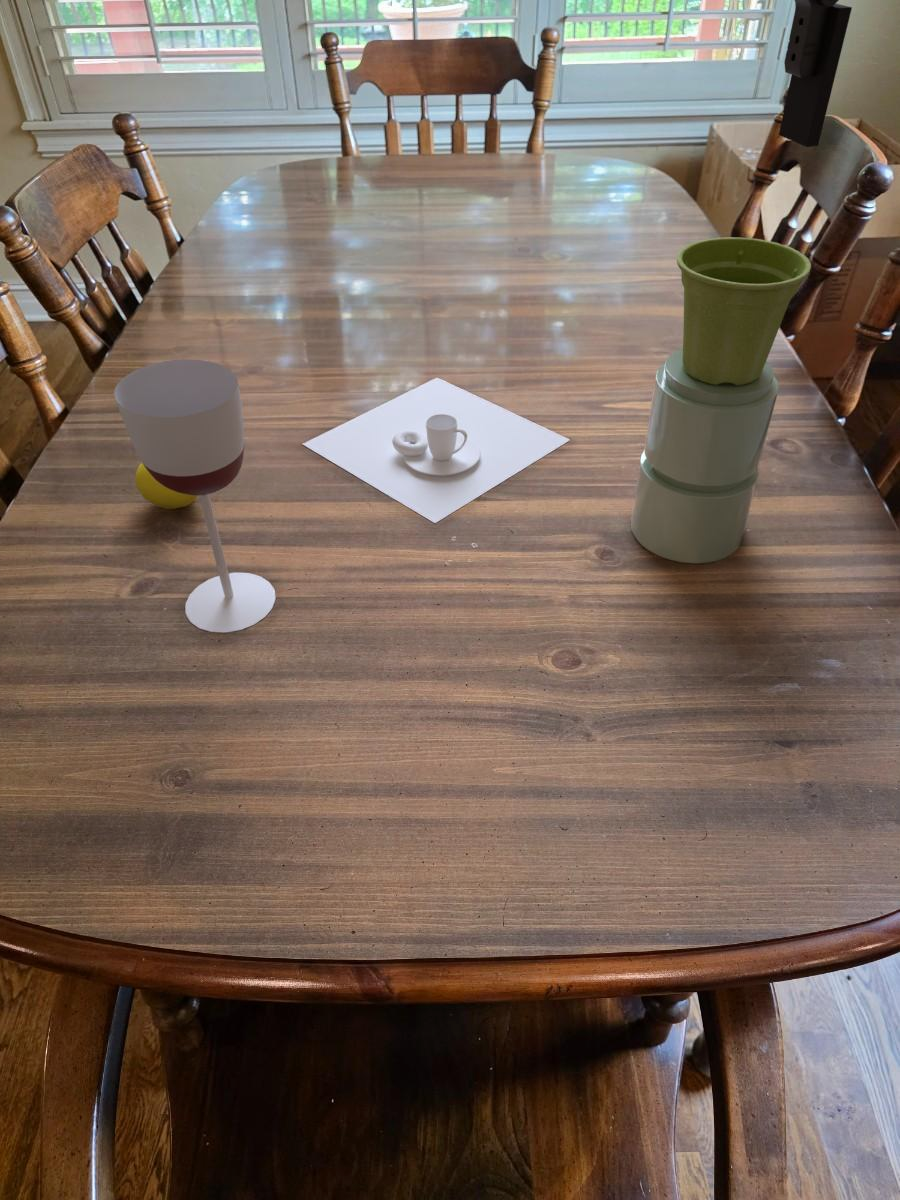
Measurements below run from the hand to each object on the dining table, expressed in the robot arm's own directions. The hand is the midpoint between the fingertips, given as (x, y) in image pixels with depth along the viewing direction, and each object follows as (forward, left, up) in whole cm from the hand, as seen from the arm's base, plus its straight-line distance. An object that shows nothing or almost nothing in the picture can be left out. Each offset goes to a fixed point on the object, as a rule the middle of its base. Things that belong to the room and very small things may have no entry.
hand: (896, 129), depth 51 cm
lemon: (+28, +47, -35) cm, 65 cm away
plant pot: (+8, +3, -19) cm, 21 cm away
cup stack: (+8, +3, -35) cm, 36 cm away
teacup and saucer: (+30, +20, -35) cm, 50 cm away
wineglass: (+12, +44, -35) cm, 57 cm away
